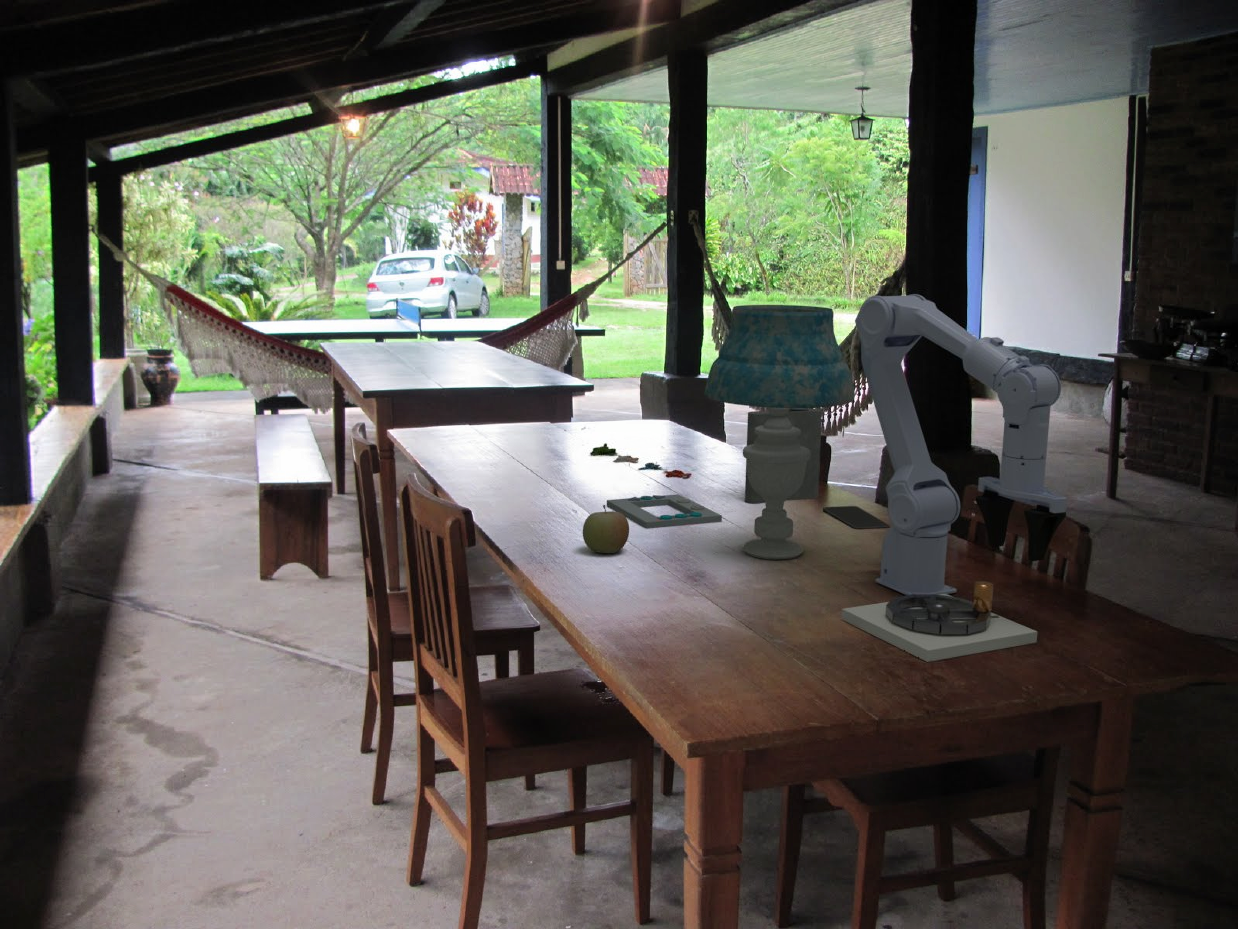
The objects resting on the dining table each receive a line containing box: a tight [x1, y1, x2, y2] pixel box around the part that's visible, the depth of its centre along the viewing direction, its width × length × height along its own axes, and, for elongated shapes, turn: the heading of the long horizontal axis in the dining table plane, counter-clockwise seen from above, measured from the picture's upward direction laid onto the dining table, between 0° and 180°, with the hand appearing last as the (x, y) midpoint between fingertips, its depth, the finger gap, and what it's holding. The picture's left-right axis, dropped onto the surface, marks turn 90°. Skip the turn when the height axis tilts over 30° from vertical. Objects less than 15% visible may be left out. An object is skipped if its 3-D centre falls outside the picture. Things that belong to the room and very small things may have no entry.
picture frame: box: [606, 493, 723, 530], centre depth 228 cm, size 18×2×15 cm
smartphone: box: [822, 505, 891, 530], centre depth 226 cm, size 7×1×15 cm
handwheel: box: [886, 580, 994, 634], centre depth 164 cm, size 14×13×5 cm
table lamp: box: [704, 304, 856, 561], centre depth 198 cm, size 24×24×40 cm
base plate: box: [841, 594, 1038, 663], centre depth 165 cm, size 18×18×2 cm
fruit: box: [582, 504, 630, 554], centre depth 201 cm, size 8×7×8 cm
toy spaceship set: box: [589, 443, 692, 479], centre depth 272 cm, size 35×6×3 cm, turn 35°
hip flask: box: [744, 408, 823, 505], centre depth 239 cm, size 16×4×20 cm, turn 112°
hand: (1016, 552), depth 169 cm, fingers open, 7 cm apart
